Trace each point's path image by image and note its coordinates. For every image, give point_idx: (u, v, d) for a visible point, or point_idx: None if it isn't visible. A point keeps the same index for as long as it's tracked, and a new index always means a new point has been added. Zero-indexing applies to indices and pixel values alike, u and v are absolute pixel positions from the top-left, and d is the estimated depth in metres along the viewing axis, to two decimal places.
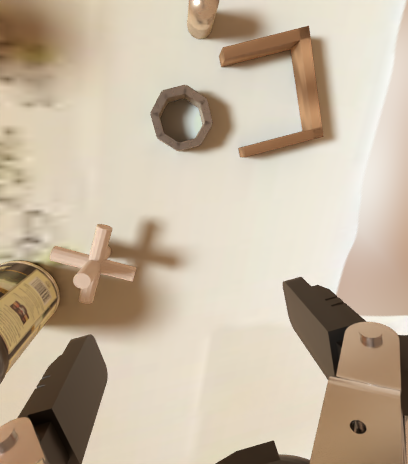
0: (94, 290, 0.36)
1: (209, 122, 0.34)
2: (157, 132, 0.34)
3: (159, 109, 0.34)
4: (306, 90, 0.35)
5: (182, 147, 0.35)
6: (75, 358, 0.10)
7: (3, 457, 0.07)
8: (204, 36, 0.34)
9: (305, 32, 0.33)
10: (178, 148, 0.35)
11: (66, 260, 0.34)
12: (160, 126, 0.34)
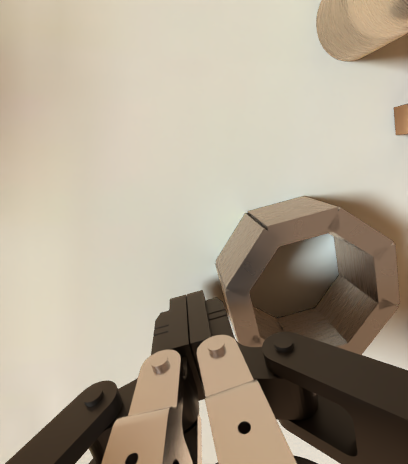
0: None
1: (391, 302, 0.12)
2: (242, 336, 0.12)
3: (252, 277, 0.11)
4: None
5: None
6: (185, 310, 0.11)
7: (169, 375, 0.08)
8: (367, 54, 0.12)
9: None
10: None
11: None
12: (252, 321, 0.11)
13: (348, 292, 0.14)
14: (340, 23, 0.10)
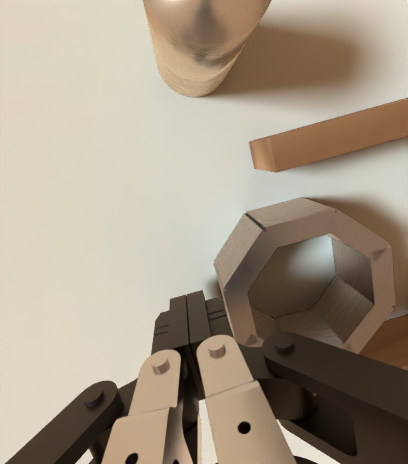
0: None
1: (387, 304, 0.12)
2: (240, 336, 0.12)
3: (250, 277, 0.11)
4: None
5: None
6: (185, 310, 0.11)
7: (169, 375, 0.08)
8: (207, 91, 0.12)
9: None
10: None
11: None
12: (249, 321, 0.12)
13: (345, 293, 0.14)
14: (160, 65, 0.10)
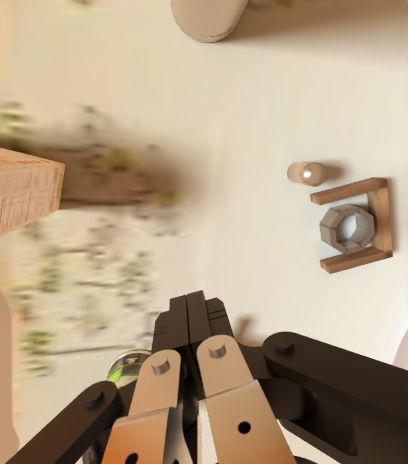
0: None
1: (372, 233, 0.43)
2: (332, 241, 0.43)
3: (336, 224, 0.43)
4: (381, 223, 0.43)
5: (349, 252, 0.44)
6: (185, 310, 0.11)
7: (169, 375, 0.08)
8: None
9: (383, 183, 0.42)
10: (345, 252, 0.44)
11: None
12: (335, 237, 0.43)
13: (360, 232, 0.45)
14: (292, 178, 0.42)
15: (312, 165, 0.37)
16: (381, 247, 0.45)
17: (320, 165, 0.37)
